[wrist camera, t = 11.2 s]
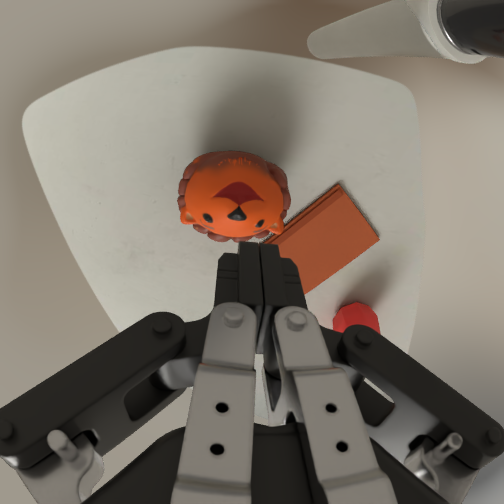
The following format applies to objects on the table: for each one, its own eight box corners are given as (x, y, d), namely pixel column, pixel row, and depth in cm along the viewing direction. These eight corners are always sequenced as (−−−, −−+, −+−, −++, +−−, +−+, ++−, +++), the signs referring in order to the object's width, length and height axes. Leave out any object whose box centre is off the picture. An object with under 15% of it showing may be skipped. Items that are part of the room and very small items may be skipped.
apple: (377, 293, 49) (394, 327, 43) (366, 328, 54) (380, 362, 47) (331, 297, 49) (344, 333, 42) (324, 332, 53) (334, 368, 47)
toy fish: (288, 144, 36) (308, 175, 27) (276, 223, 42) (290, 275, 32) (185, 137, 35) (166, 165, 26) (184, 218, 41) (169, 269, 31)
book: (337, 183, 39) (339, 185, 39) (378, 238, 44) (380, 240, 43) (255, 248, 44) (255, 251, 43) (303, 293, 48) (304, 296, 48)
